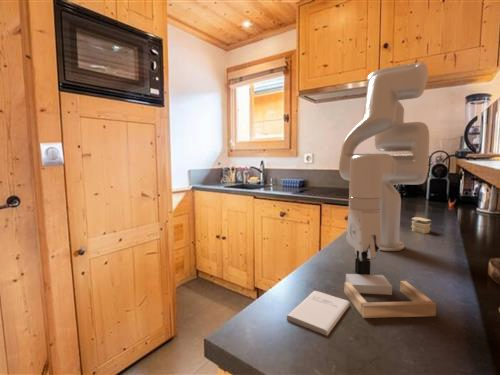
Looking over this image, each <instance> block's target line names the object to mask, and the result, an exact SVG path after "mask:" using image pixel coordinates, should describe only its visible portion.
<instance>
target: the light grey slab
mask: <svg viewBox="0 0 500 375" xmlns="http://www.w3.org/2000/svg"><path fill="white" fill-rule="evenodd" d="M345 282H350V283H351V284H352V286H353V287H354V288H355V289H356V290H357V291H358V293H359V294H371V295H372V294H374V295H390V296H392V295H393V285H392V284H391V283H390V281H389V280H388V279H387V278H386V277H385V276H384V275H383V274H370V275H364V274H356V273H345Z"/></svg>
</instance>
